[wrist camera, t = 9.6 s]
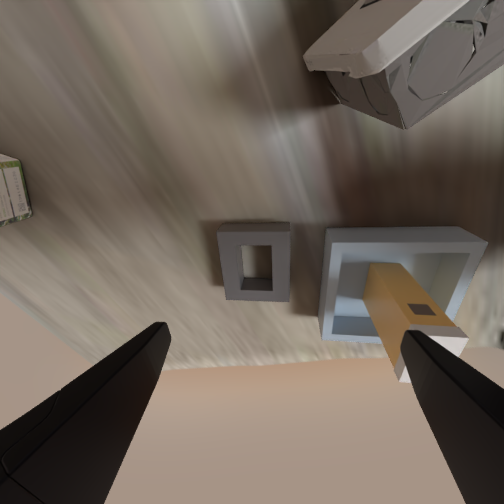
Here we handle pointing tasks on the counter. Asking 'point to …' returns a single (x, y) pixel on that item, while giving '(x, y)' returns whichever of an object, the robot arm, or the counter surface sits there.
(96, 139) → the counter surface
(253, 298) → the block
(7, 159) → the syrup box
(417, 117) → the electrical switch
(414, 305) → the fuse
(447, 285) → the parts tray
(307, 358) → the counter surface
